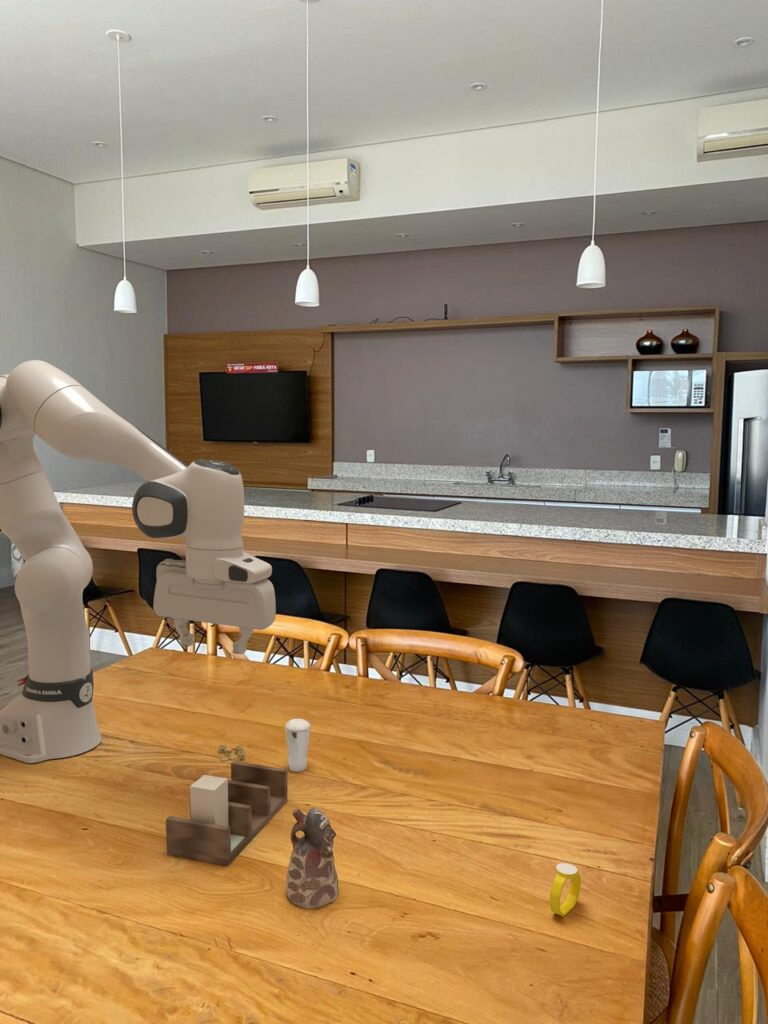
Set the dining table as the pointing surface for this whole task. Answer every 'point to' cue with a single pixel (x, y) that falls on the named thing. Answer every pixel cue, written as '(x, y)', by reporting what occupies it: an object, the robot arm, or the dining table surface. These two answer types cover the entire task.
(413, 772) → the dining table surface
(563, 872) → the watch
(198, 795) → the peg
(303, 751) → the milkshake
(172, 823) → the slot rack
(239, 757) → the dice set
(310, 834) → the figurine
